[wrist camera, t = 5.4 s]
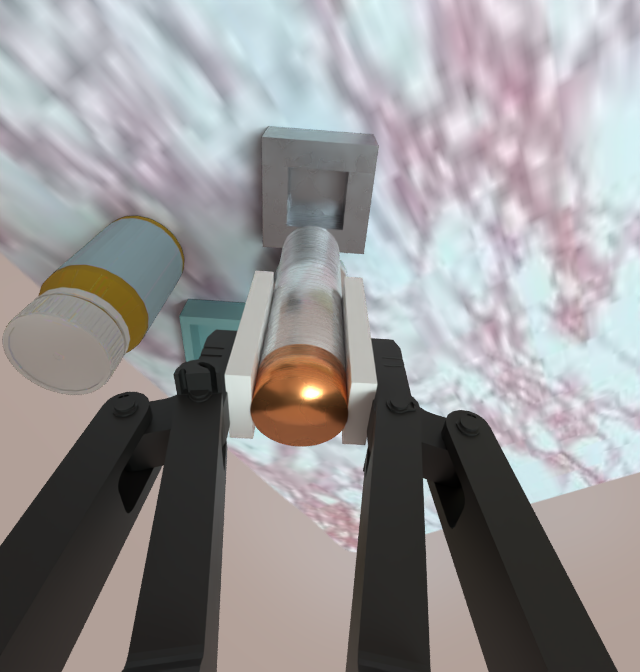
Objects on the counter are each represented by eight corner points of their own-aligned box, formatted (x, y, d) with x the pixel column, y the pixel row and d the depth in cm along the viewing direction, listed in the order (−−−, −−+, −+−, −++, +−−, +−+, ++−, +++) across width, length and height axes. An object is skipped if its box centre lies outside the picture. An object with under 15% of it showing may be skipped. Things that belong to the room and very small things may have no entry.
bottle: (201, 272, 38) (141, 383, 26) (136, 296, 40) (51, 411, 28) (157, 200, 35) (64, 290, 22) (88, 230, 36) (-35, 329, 24)
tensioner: (352, 296, 40) (355, 329, 35) (268, 290, 39) (261, 322, 35) (373, 134, 31) (380, 150, 27) (268, 126, 31) (258, 141, 27)
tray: (188, 299, 40) (179, 316, 38) (304, 306, 40) (303, 324, 38) (199, 385, 46) (192, 405, 44) (299, 391, 47) (298, 411, 44)
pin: (283, 223, 21) (249, 374, 12) (341, 227, 22) (353, 380, 12) (282, 276, 23) (251, 443, 14) (336, 279, 23) (343, 448, 14)
